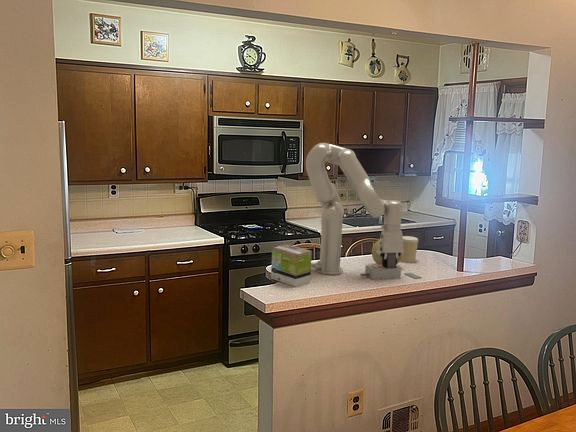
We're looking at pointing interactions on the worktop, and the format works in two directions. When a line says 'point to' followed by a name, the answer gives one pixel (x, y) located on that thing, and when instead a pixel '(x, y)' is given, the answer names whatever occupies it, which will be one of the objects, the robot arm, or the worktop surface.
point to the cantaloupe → (377, 257)
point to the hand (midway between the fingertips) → (389, 266)
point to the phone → (412, 275)
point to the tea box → (291, 265)
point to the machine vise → (381, 272)
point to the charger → (391, 260)
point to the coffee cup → (409, 249)
